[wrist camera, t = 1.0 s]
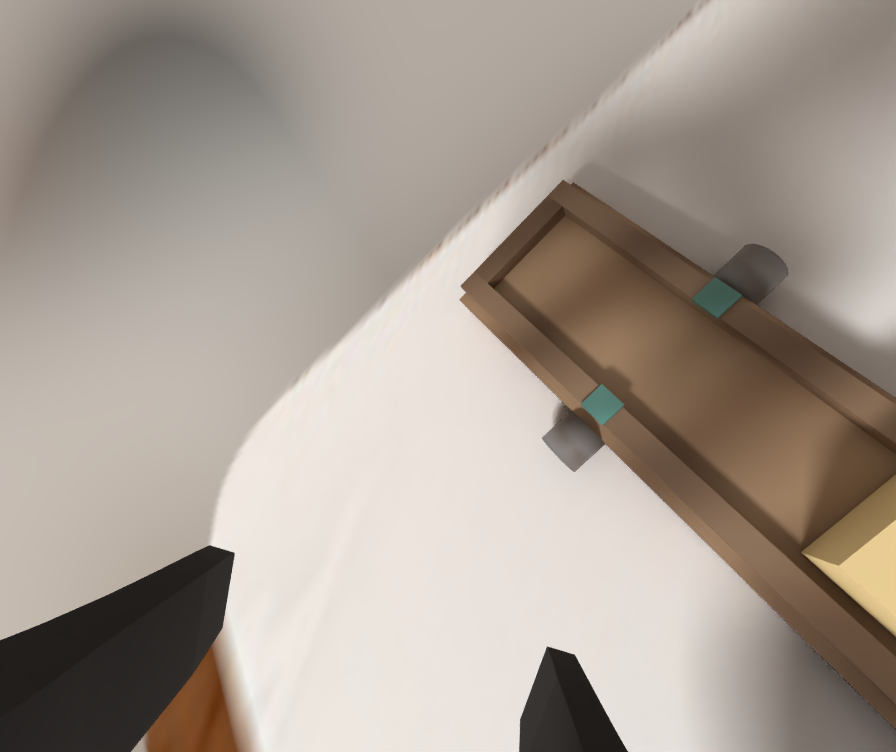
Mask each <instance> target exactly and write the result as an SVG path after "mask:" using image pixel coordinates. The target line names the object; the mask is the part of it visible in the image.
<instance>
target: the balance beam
mask: <svg viewBox="0 0 896 752" xmlns="http://www.w3.org/2000/svg"><path fill="white" fill-rule="evenodd" d="M787 275H788V269H787V266H786V264H785V263H784V262H783V260H782V259H781V258H780V257H779V256H778V255H776V254H775V253H774V252H772V251H771V250H769V249H767V248H765V247H763V246H760V245H756V244H748V245H746V246H744V247H743V248H742V249H741V250H740V251H739V252H738V253H737V254H736V255H735V256H734V257H733V258H732V259H731V260H730V261H729V262H728V263H727V264H725V265H724V266H723V267H722V268H721V269H720V270H719V271H718V272H717V273H716V274H715V275H714V276H712V275H711V274H709V273H708V272H706V271H705V270H703V269H702V268H700V267H699V266H697V265H696V264H695V263H693V262H692V261H690V260H689V259H687V258H686V257H684V256H683V255H681V254H680V253H678V252H677V251H675V250H674V249H672V248H671V247H669V246H668V245H666V244H665V243H663V242H662V241H660V240H659V239H657V238H656V237H654V236H653V235H651V234H650V233H648V232H647V231H645V230H644V229H642V228H641V227H639V226H638V225H636V224H635V223H633V222H632V221H630V220H629V219H627V218H626V217H624V216H623V215H621V214H620V213H618V212H617V211H615V210H614V209H612V208H611V207H609V206H608V205H606V204H605V203H603V202H602V201H600V200H599V199H597V198H596V197H594V196H593V195H591V194H590V193H588V192H587V191H585V190H584V189H582V188H581V187H579V186H578V185H576V184H575V183H572V184H571V185H570V184H568V183H567V182H565V181H564V180H563V181H562V182H561V183H560V184H559V185H558V186H557V187H556V188H555V189H554V190H553V191H552V192H551V193H550V194H549V195H548V196H547V197H546V198H545V199H544V200H543V201H542V202H541V203H540V204H539V205H538V206H537V207H536V209H535V210H534V211H533V212H532V213H531V214H530V215H529V216H528V217H527V218H526V219H525V220H524V221H523V222H522V223H521V224H520V225H519V226H518V227H517V228H516V229H515V230H514V231H513V232H512V233H511V234H510V235H509V236H508V237H507V239H506V240H505V241H504V242H503V243H502V244H501V245H500V246H499V247H498V248H497V249H496V250H495V251H494V252H493V253H492V254H491V255H490V256H489V257H488V258H487V259H486V260H485V261H484V262H483V263H482V264H481V265H480V266H479V267H478V269H477V270H476V271H475V272H474V273H473V274H472V275H471V276H470V277H469V278H468V279H467V280H466V281H465V282H464V283H463V284H462V285H461V287H462V289H463V290H464V291H465V292H466V293H465V294H464V295H463V296H462V297H461V298H460V301H461V302H462V303H463V304H464V305H465V306H466V307H467V308H468V309H469V310H470V311H471V312H472V313H473V314H474V315H475V316H476V317H477V318H478V319H479V320H480V321H481V322H482V323H483V324H484V325H485V326H486V327H487V328H488V329H489V330H490V331H491V332H492V333H493V334H494V335H495V336H496V337H497V338H498V339H499V340H500V341H501V342H502V343H503V344H504V345H505V346H506V347H507V348H508V349H509V350H510V351H511V352H513V353H514V354H515V355H516V356H517V357H518V358H519V359H520V360H521V361H522V362H523V363H524V364H525V365H526V366H527V367H528V368H529V369H530V370H531V371H532V372H533V373H534V374H535V375H536V376H537V377H538V378H539V379H540V380H541V381H542V382H543V383H544V384H545V385H546V386H547V387H548V388H549V389H550V390H551V391H552V392H553V393H554V394H555V395H556V396H557V397H558V398H559V399H560V400H561V401H562V402H563V403H564V404H565V405H566V406H567V407H568V408H569V409H570V410H571V411H570V412H569V413H568V414H567V415H566V416H565V417H564V418H563V419H562V420H560V421H559V422H558V423H557V424H556V425H555V426H554V427H553V428H552V429H551V430H550V431H549V432H548V433H547V434H546V435H545V436H544V437H542V439H543V441H544V442H545V443H546V444H547V446H548V447H549V448H550V449H551V450H552V451H553V452H554V453H555V454H556V455H557V456H558V458H559V459H560V460H561V461H562V462H563V463H565V464H566V465H567V466H568V467H569V468H570V469H571V470H572V471H574V472H575V471H576V470H577V469H578V468H580V467H581V466H582V465H583V464H584V463H585V462H586V461H587V460H588V459H589V458H590V457H592V456H593V455H594V454H595V453H596V452H597V451H598V450H599V449H600V448H601V447H602V446H603V445H605V444H606V445H607V446H608V447H609V448H610V449H611V450H612V451H613V452H614V453H615V454H616V455H617V456H618V457H619V458H620V459H621V460H622V461H623V462H624V463H625V464H626V465H627V466H628V467H629V468H630V469H631V470H632V471H633V472H634V473H635V474H636V475H637V476H639V477H640V478H641V479H642V480H643V481H644V482H645V483H646V484H647V485H648V486H649V487H650V488H651V489H652V490H653V491H654V492H655V493H656V494H657V495H658V496H659V497H660V498H661V499H662V500H663V501H664V502H665V503H666V504H667V505H668V506H669V507H670V508H671V509H672V510H673V511H674V512H675V513H676V514H677V515H678V516H679V517H680V518H681V519H682V520H683V521H684V522H685V523H686V524H687V525H688V526H689V527H690V528H691V529H692V530H693V531H694V532H695V533H696V534H697V535H698V536H699V537H701V538H702V539H703V540H704V541H705V542H706V543H707V544H708V545H709V546H710V547H711V548H712V549H713V550H714V551H715V552H716V553H717V554H718V555H719V556H720V557H721V558H722V559H723V560H724V561H725V562H726V563H727V564H728V565H729V566H730V567H731V568H732V569H733V570H734V571H735V572H736V573H737V574H738V575H739V576H740V577H741V578H742V579H743V580H744V581H745V582H746V583H747V584H748V585H749V586H750V587H751V588H752V589H753V590H754V591H755V592H756V593H757V594H758V595H759V596H760V597H761V598H762V599H764V600H765V601H766V602H767V603H768V604H769V605H770V606H771V607H772V608H773V609H774V610H775V611H776V612H777V613H778V614H779V615H780V616H781V617H782V618H783V619H784V620H785V621H786V622H787V623H788V624H789V625H790V626H791V627H792V628H793V629H794V630H795V631H796V632H797V633H798V634H799V635H800V636H801V637H802V638H803V639H804V640H805V641H806V642H807V643H808V644H809V645H810V646H811V647H812V648H813V649H814V650H815V651H816V652H817V653H818V654H819V655H820V656H821V657H822V658H823V659H824V660H825V661H827V662H828V663H829V664H830V665H831V666H832V667H833V668H834V669H835V670H836V671H837V672H838V673H839V674H840V675H841V676H842V677H843V678H844V679H845V680H846V681H847V682H848V683H849V684H850V685H851V686H852V687H853V688H854V689H855V690H856V691H857V692H858V693H859V694H860V695H861V696H862V697H863V698H864V699H865V700H866V701H867V702H868V703H869V704H870V705H871V706H872V707H873V708H874V709H875V710H876V711H877V712H878V713H879V714H880V715H881V716H882V717H883V718H884V719H885V720H886V721H887V722H888V723H890V724H891V725H892V726H893V727H894V728H895V729H896V637H895V636H894V635H892V634H891V633H890V632H889V631H888V630H887V629H886V628H885V627H883V626H882V625H881V624H880V623H879V622H878V621H877V620H876V619H875V618H873V617H872V616H871V615H870V614H869V613H868V612H867V611H866V610H865V609H863V608H862V607H861V606H860V605H859V604H858V603H857V602H856V601H854V600H853V599H852V598H851V597H850V596H849V595H848V594H847V593H846V592H844V591H843V590H842V589H841V588H840V587H839V586H838V585H837V584H836V583H834V582H833V581H832V580H831V579H830V578H829V577H828V576H827V575H825V574H824V573H823V572H822V571H821V570H820V569H819V568H818V567H817V566H815V565H814V564H813V563H812V562H811V561H810V560H809V559H808V558H807V557H805V556H804V555H803V554H802V553H801V552H802V551H803V550H804V549H806V548H807V547H808V546H809V545H810V544H812V543H813V542H814V541H815V540H817V539H818V538H819V537H820V536H821V535H823V534H824V533H825V532H826V531H827V530H829V529H830V528H831V527H832V526H834V525H835V524H836V523H837V522H838V521H840V520H841V519H842V518H843V517H845V516H846V515H847V514H848V513H849V512H851V511H852V510H853V509H854V508H855V507H857V506H858V505H859V504H860V503H862V502H863V501H864V500H865V499H866V498H868V497H869V496H870V495H871V494H872V493H874V492H875V491H876V490H877V489H879V488H880V487H881V486H882V485H883V484H885V483H886V482H887V481H888V480H890V479H891V478H892V477H893V476H894V475H896V398H895V397H893V396H892V395H890V394H889V393H887V392H886V391H884V390H883V389H881V388H880V387H878V386H877V385H875V384H874V383H872V382H871V381H869V380H868V379H866V378H865V377H863V376H862V375H860V374H859V373H857V372H856V371H854V370H853V369H851V368H850V367H848V366H847V365H845V364H844V363H842V362H841V361H839V360H838V359H836V358H835V357H833V356H832V355H830V354H829V353H828V352H826V351H825V350H823V349H822V348H820V347H819V346H817V345H816V344H814V343H813V342H811V341H810V340H808V339H807V338H805V337H804V336H802V335H801V334H799V333H798V332H796V331H795V330H793V329H792V328H790V327H789V326H787V325H786V324H784V323H783V322H781V321H780V320H778V319H777V318H775V317H774V316H772V315H771V314H769V313H768V312H766V311H765V310H763V309H762V308H760V307H759V306H757V305H756V304H758V303H759V302H760V301H761V300H762V299H763V298H764V297H765V296H766V295H767V294H768V293H770V292H771V291H772V290H773V289H774V288H775V287H776V286H777V285H778V284H779V283H780V282H781V281H783V280H784V279H785V278H786V277H787Z"/></svg>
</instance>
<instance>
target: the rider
mask: <svg viewBox="0 0 896 752" xmlns="http://www.w3.org/2000/svg"><path fill="white" fill-rule="evenodd" d="M801 553H802V554H803V555H804V556H805V557H807V558H808V559H809V560H810V561H811V562H812V563H813V564H814V565H815V566H817V567H818V568H819V569H820V570H821V571H822V572H823V573H824V574H825V575H827V576H828V577H829V578H830V579H831V580H832V581H833V582H834V583H836V584H837V585H838V586H839V587H840V588H841V589H842V590H843V591H844V592H846V593H847V594H848V595H849V596H850V597H851V598H852V599H853V600H854V601H856V602H857V603H858V604H859V605H860V606H861V607H862V608H863V609H865V610H866V611H867V612H868V613H869V614H870V615H871V616H872V617H873V618H875V619H876V620H877V621H878V622H879V623H880V624H881V625H882V626H883V627H885V628H886V629H887V630H888V631H889V632H890V633H891V634H892V635H894V636H895V637H896V475H894V476H893V477H892V478H891V479H890V480H888V481H887V482H886V483H885V484H883V485H882V486H881V487H880V488H879V489H877V490H876V491H875V492H874V493H872V494H871V495H870V496H869V497H868V498H866V499H865V500H864V501H863V502H862V503H860V504H859V505H858V506H857V507H855V508H854V509H853V510H852V511H851V512H849V513H848V514H847V515H846V516H845V517H843V518H842V519H841V520H840V521H838V522H837V523H836V524H835V525H834V526H832V527H831V528H830V529H829V530H827V531H826V532H825V533H824V534H823V535H821V536H820V537H819V538H818V539H817V540H815V541H814V542H813V543H812V544H810V545H809V546H808V547H807V548H806V549H804V550H803V551H802V552H801Z"/></svg>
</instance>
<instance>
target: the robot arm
mask: <svg viewBox="0 0 896 752" xmlns="http://www.w3.org/2000/svg"><path fill="white" fill-rule="evenodd" d="M234 555H235V553H233V552H230V551H227V550H223V549H220V548H217V547H213V546H210V545H209V546H207V547H205V548H203V549H201V550H199V551H196V552H194V553H192V554H190V555H188V556H186V557H184V558H182V559H180V560H178V561H176V562H174V563H172V564H170V565H168V566H166V567H164V568H163V569H161V570H158V571H156V572H154V573H152V574H150V575H148V576H146V577H144V578H142V579H140V580H138V581H136V582H134V583H132V584H130V585H127V586H125V587H123V588H121V589H119V590H117V591H115V592H113V593H111V594H109V595H106V596H104V597H102V598H100V599H98V600H95V601H93V602H91V603H88V604H86V605H84V606H81V607H79V608H77V609H75V610H72V611H70V612H68V613H66V614H63V615H61V616H59V617H56V618H54V619H52V620H50V621H48V622H45V623H43V624H40V625H38V626H35V627H33V628H30V629H28V630H26V631H23V632H20V633H18V634H15V635H13V636H10V637H8V638H5V639H2V640H0V752H131V751H132V750H133V748H134V747H135V746H136V745H137V743H138V742H139V741H140V740H141V738H142V737H143V736H144V735H145V733H146V732H147V731H148V730H149V728H150V727H151V726H152V725H153V723H154V722H155V721H156V720H157V719H158V717H159V716H160V715H161V714H162V712H163V711H164V710H165V709H166V707H167V706H168V705H169V703H170V702H171V701H172V700H173V698H174V697H175V696H176V695H177V693H178V692H179V691H180V690H181V688H182V687H183V686H184V685H185V683H186V682H187V681H188V679H189V678H190V677H191V676H192V674H193V673H194V671H195V670H196V668H197V667H198V665H199V664H200V662H201V661H202V659H203V658H204V656H205V655H206V653H207V652H208V650H209V648H210V647H211V645H212V644H213V642H214V640H215V639H216V637H217V636H218V634H219V632H220V631H221V629H222V628H223V621H224V615H225V609H226V603H227V597H228V591H229V585H230V579H231V573H232V567H233V561H234ZM519 752H628V751H627V749H626V748H625V746H624V744H623V743H622V741H621V739H620V737H619V736H618V734H617V732H616V730H615V728H614V727H613V725H612V723H611V721H610V719H609V717H608V716H607V714H606V712H605V710H604V708H603V706H602V705H601V703H600V701H599V699H598V697H597V695H596V693H595V692H594V690H593V688H592V686H591V684H590V682H589V680H588V678H587V677H586V675H585V673H584V671H583V669H582V667H581V666H580V664H579V662H578V660H577V658H576V656H575V655H574V654H570V653H567V652H564V651H560V650H557V649H554V648H550V647H547V648H546V651H545V654H544V656H543V659H542V662H541V665H540V667H539V670H538V673H537V675H536V678H535V681H534V684H533V686H532V689H531V692H530V695H529V697H528V700H527V703H526V705H525V708H524V711H523V714H522V716H521V719H520V746H519Z"/></svg>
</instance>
